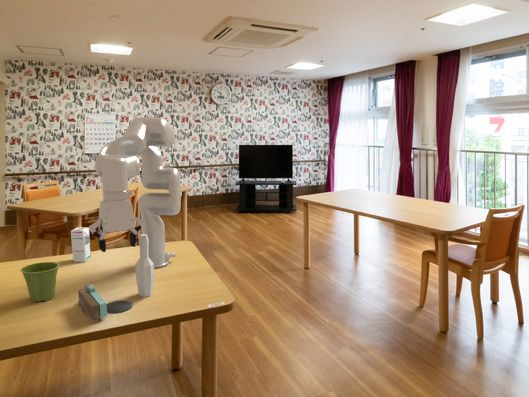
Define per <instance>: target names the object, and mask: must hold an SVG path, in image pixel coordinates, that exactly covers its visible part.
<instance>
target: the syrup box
mask: <svg viewBox="0 0 529 397" xmlns="http://www.w3.org/2000/svg"><path fill="white" fill-rule="evenodd" d="M70 239H71V251H72V261H73V262H74V263H76V262H77V263H86V262H88V261H89V260H90V259H92V250H91V239H90V230H89V227H84V226H80V227H76V228H74V229H72V230H70Z"/></svg>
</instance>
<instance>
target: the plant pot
mask: <svg viewBox="0 0 529 397" xmlns="http://www.w3.org/2000/svg"><path fill="white" fill-rule="evenodd" d="M58 268H60V263H58V262H55V261H43V262H35V263H31V264H26V265H24V266H23V267H21V268H20V273H22V276H23V279H25V283H26V287H27V290H28V294H29V297H30V300H31V301H32V302H36V303H37V302H42V301H50V300H51V299H53V298H54V297H55V293H56V284H57V283H56V282H57V274H58Z"/></svg>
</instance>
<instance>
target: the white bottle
mask: <svg viewBox="0 0 529 397" xmlns="http://www.w3.org/2000/svg"><path fill="white" fill-rule="evenodd" d="M138 246H139V259H138V260H137V261H136V263H135V265H134V266H135V279H136V285H137V291H138V295H139V297H140V298H141V297H143V298H147V296H148V297H151V296H152V295H153V291H154V282H155V268H154V263H153V262H152V261H151V260H150V258H149V254H148V246H149V239H148V236H147V234H142V233H141V234H139V238H138Z"/></svg>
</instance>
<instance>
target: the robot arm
mask: <svg viewBox="0 0 529 397" xmlns="http://www.w3.org/2000/svg"><path fill="white" fill-rule="evenodd" d="M175 140H176V134H175V130H174V128H173V127H172V125H171V124H170V123H169V122H168V121H167V119H164V118H161V117H136V118H133V119H132V120H131V121H130V123H129V124H128V126H127V129H126V130H125V132H124V133H123V136H121V137H118V138H116V139H114V140H112V141H110V142H108V143H106V144H105V145H104V146H103V147H102V148H101V149H100V150H99V152H98V154H97V156H96V158H95V161H94V170H95V173H96V174H97V176H99V177H101V181H102V185H101V186H102V199H103V200H100V203H99V211H98V220H97V221H96V222H94V223H92V224H91V225H89V226H88V228H89V232H91V234H92V235H93V236H94V237H96V238H97V239H98V241H97V242H98V249H99V250H100V251H101V252H103V253H106V252H107V249H106V248H107V245H106V242H107V241H106V239H105V237H106V236H107V235H108V234H111V233H112V234H113V233H119V232H125V231H129V245H130V246H131V247H133V248H135V247H136V246H137V245H136V244H137V241H138V240H137V235H138V233H139V231H140V230H141V234H147V236H148V239H149V246H148V254H149V258H150V260H151V261H152V262H153V263H154V269H159V268H163V266H164V267H166V266H168V265H169V264H170V260H169V259H170V258H176V256H177V255H176V252H170V251H169V252H166V231H165V230H166V229H165V228H166V227H165V222H164V220H163V219H162V218H161V216H176V215H178V214H179V213H180V212H181V207H182V206H181V204H182V201H181V200H182V199H181V196H182V195H181V192H182V191H181V189H182V188H181V186H182V185H181V174H180V171H179V170H178V169H177V168H176V167H170V166H169V167H168V166H167V167H163V155H162V153H161V151H160V150H159V148H163V147H164V148H168V147H172V146H173V144H174V143H175ZM158 147H159V148H158ZM137 155H140V159H141V160H140V159H139V158H138V157H137ZM140 172H141V182H142V183H141V184H142V186H143V188H145V189H146V190H163V191H164V190H165V191H166V190H167V191H168V192H145V193H143V194H141V195H140V196H139V197H138V208H139V211H140V218H139V217H137V216H135V215H134V210H133V209H134V208H133V204H132V201H131V199H130V196H133V191H132V190H129V185H128V184H129V182H128V181H129V180H128V179H130V178H131V179H132V178H135V177H137V176H138V175H139V174H140ZM135 222H136V224H137V225H135ZM97 228H98V229H99V232H98V231H97V230H96V229H97Z"/></svg>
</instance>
